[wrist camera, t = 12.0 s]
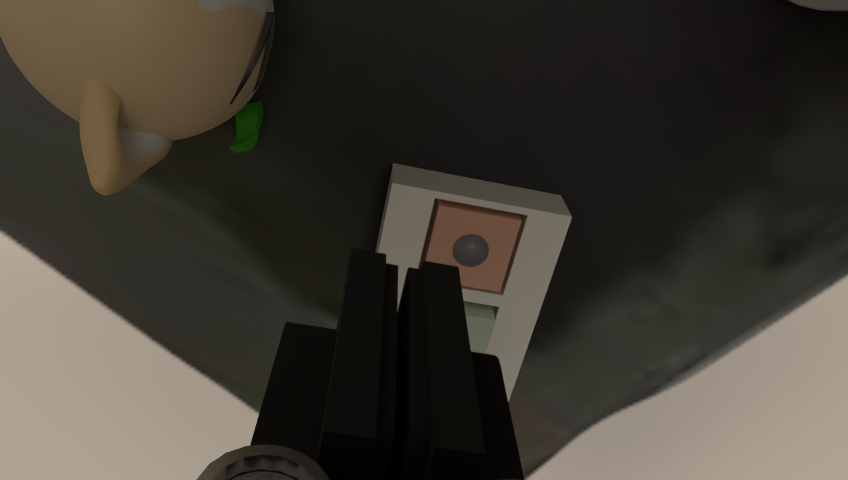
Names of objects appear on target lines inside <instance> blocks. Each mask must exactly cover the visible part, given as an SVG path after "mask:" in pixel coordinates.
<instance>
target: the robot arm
mask: <svg viewBox="0 0 848 480" xmlns="http://www.w3.org/2000/svg"><path fill="white" fill-rule="evenodd" d="M785 1H788V2H791V3H794V4H796V5H799V6H802V7H807V8H812V9H816V10H821V11H848V0H785ZM397 310H398V312H397ZM197 480H524V476H523V472H522V467H521V462H520V457H519V452H518V447H517V443H516V438H515V433H514V428H513V423H512V418H511V413H510V409H509V404H508V399H507V394H506V389H505V384H504V379H503V375H502V370H501V365H500V362H499V359H498V357H497V356H495V355H490V354H484V353H478V352H472V351H471V349H470V342H469V335H468V328H467V321H466V314H465V307H464V301H463V294H462V287H461V280H460V273H459V268H458V267H457V266H452V265H446V264H440V263H435V262H429V261H423V262H422V265H421V267H420V269H416V268H411V267H409V268H408V270H407V273H406V277H405V281H404V286H403V290H402V294H401V299H400V303H399V307H398V265H393V264H388V263H386V254H384V253H378V252H372V251H366V250H361V249H355V248H352V249H351V254H350V259H349V265H348V270H347V275H346V281H345V286H344V292H343V297H342V302H341V308H340V313H339V319H338V324H337V329H336V330H335V329H328V328H322V327H316V326H310V325H304V324H297V323H291V322H286V324H285V327H284V330H283V333H282V337H281V340H280V344H279V347H278V351H277V354H276V358H275V361H274V365H273V368H272V371H271V375H270V378H269V382H268V385H267V389H266V392H265V396H264V399H263V403H262V406H261V410H260V413H259V417H258V420H257V424H256V427H255V431H254V434H253V438H252V441H251V445H250V446H245V447H242V448H239V449H236V450H233V451H231V452H227V453H225V454H224V455H222V456H221V457H219V458H218V459H216V460H215V461H213V462H212V463H210V464H209V465H208V466H207V468H206V469H205V470H204V471H203V472H202V474H201V475H200V476H199V477H198V479H197Z"/></svg>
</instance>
